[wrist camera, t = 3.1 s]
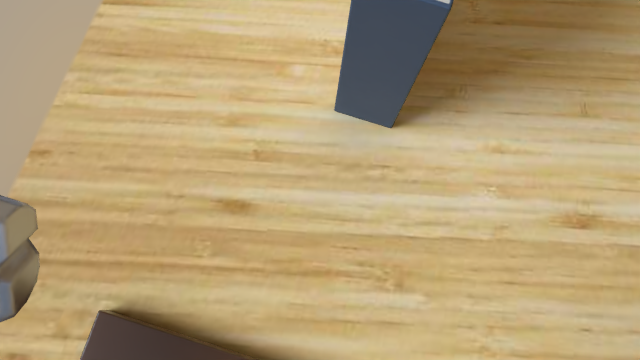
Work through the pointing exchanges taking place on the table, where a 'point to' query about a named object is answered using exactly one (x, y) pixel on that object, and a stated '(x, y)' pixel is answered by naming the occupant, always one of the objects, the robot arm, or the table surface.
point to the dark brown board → (146, 342)
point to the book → (385, 55)
